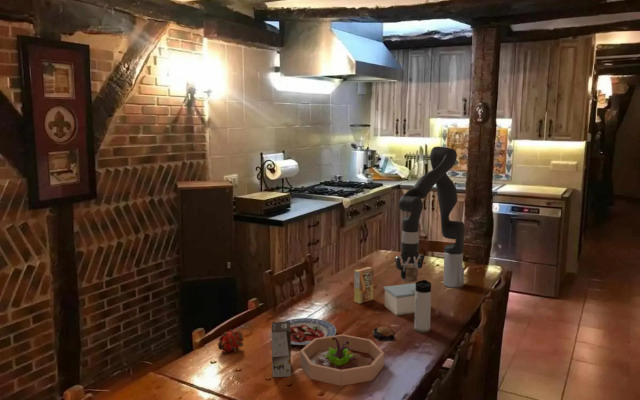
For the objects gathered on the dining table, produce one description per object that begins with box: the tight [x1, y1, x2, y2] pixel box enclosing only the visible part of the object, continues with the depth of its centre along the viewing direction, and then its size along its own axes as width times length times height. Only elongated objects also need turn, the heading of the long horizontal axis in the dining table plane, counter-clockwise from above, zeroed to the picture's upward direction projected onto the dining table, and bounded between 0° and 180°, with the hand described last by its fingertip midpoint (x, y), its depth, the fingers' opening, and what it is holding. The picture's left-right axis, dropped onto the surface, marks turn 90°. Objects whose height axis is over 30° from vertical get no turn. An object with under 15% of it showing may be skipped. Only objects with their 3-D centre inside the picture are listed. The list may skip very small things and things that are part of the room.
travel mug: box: [413, 279, 432, 333], centre depth 215 cm, size 6×7×20 cm
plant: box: [310, 337, 370, 370], centre depth 184 cm, size 20×20×11 cm
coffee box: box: [271, 320, 292, 378], centre depth 181 cm, size 9×6×16 cm
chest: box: [384, 289, 415, 316], centre depth 239 cm, size 16×12×8 cm
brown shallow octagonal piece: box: [300, 333, 385, 387], centre depth 186 cm, size 27×27×5 cm
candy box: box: [353, 266, 374, 304], centre depth 249 cm, size 9×4×15 cm, turn 129°
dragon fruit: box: [217, 329, 244, 354], centre depth 198 cm, size 8×8×12 cm
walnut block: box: [401, 264, 418, 283], centre depth 238 cm, size 5×5×6 cm
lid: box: [382, 282, 416, 297], centre depth 239 cm, size 17×13×1 cm
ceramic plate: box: [270, 317, 337, 346], centre depth 212 cm, size 26×26×3 cm
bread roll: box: [372, 326, 396, 342], centre depth 211 cm, size 11×8×4 cm
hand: (409, 277), depth 238 cm, fingers closed on walnut block, 5 cm apart
